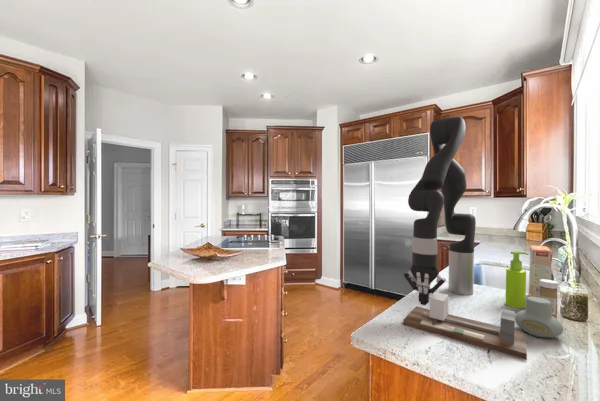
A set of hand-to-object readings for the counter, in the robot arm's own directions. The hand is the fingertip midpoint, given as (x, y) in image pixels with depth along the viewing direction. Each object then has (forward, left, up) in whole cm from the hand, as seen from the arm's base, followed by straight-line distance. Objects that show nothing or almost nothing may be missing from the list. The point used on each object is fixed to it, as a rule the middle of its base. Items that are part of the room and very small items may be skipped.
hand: (423, 304), depth 91 cm
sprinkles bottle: (-24, +32, -5) cm, 40 cm away
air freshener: (-12, +29, -5) cm, 32 cm away
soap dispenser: (-36, +24, -5) cm, 44 cm away
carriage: (+2, +5, -3) cm, 6 cm away
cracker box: (-48, +31, -5) cm, 57 cm away
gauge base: (+1, +11, -5) cm, 12 cm away
